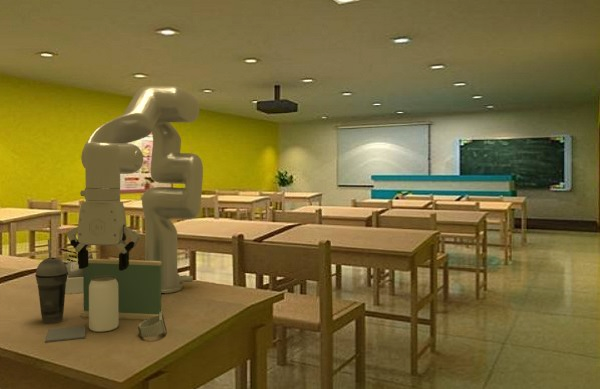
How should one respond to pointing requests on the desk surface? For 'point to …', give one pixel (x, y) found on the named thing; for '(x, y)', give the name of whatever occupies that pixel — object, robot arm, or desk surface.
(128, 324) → the desk surface
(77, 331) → the grey mat
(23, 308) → the desk surface
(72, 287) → the tool caddy
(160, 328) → the wristwatch
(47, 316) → the beverage cup
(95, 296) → the can
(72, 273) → the voltmeter
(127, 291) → the chalkboard panel
